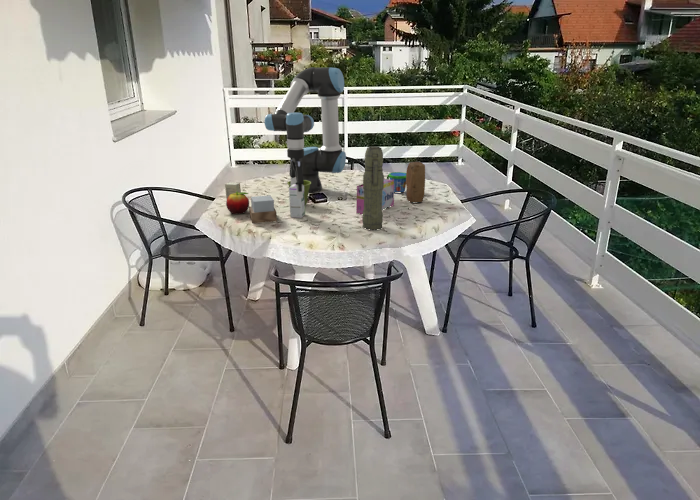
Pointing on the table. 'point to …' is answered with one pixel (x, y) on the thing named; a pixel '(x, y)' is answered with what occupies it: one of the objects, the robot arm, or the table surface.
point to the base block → (262, 216)
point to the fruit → (237, 203)
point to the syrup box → (296, 203)
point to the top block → (262, 203)
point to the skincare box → (232, 188)
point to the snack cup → (398, 181)
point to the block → (415, 182)
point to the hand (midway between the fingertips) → (296, 194)
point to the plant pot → (306, 189)
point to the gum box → (386, 196)
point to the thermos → (373, 188)
